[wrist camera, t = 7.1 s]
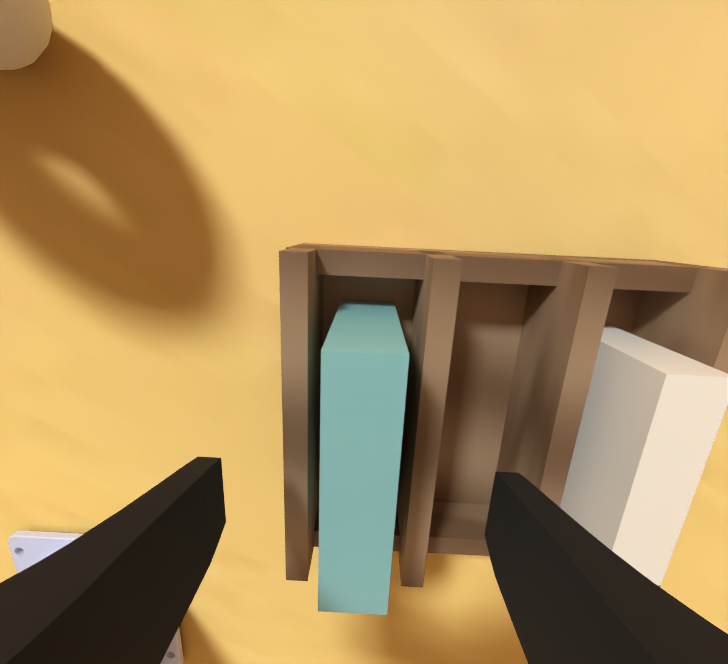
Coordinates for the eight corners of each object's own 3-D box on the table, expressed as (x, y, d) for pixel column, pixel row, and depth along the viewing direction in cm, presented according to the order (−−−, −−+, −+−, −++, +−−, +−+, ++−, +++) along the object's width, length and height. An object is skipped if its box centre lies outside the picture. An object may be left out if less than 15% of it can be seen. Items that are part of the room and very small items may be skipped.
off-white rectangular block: (573, 477, 16) (660, 585, 11) (532, 475, 16) (602, 582, 11) (611, 325, 14) (737, 377, 9) (565, 323, 14) (666, 373, 9)
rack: (588, 508, 18) (659, 600, 13) (304, 493, 18) (281, 579, 13) (656, 260, 14) (780, 275, 10) (303, 243, 14) (273, 251, 10)
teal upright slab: (381, 476, 16) (387, 614, 10) (337, 473, 16) (318, 611, 10) (393, 301, 14) (409, 355, 8) (342, 298, 14) (321, 350, 8)
